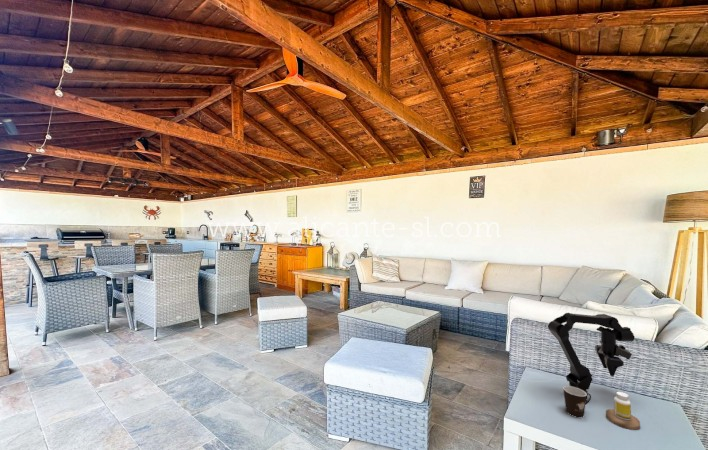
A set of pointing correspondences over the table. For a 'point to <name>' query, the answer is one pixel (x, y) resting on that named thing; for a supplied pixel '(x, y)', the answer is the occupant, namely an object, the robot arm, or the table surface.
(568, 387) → the coffee mug
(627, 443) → the table surface
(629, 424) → the walnut base
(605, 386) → the table surface
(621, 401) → the supplement bottle
